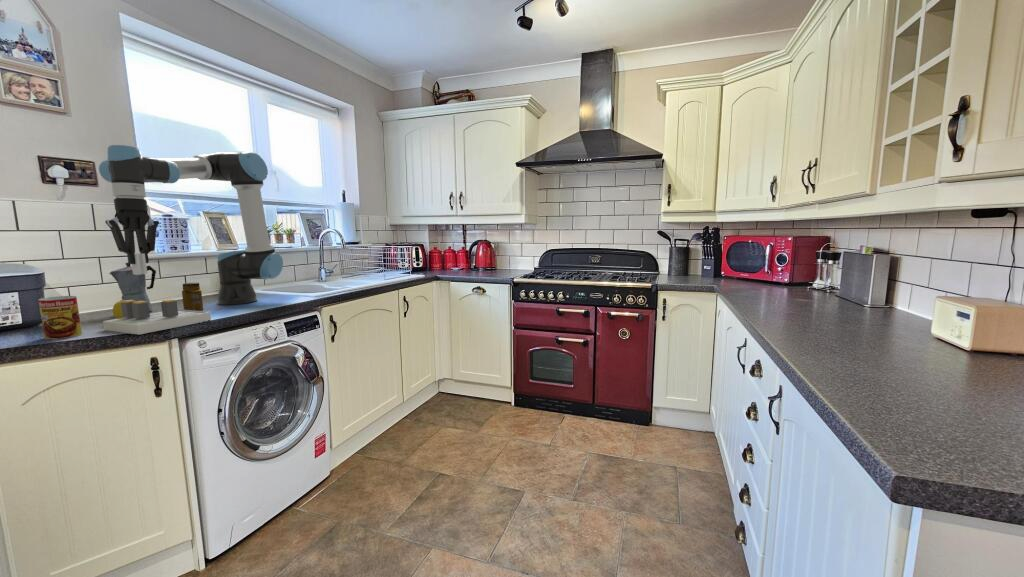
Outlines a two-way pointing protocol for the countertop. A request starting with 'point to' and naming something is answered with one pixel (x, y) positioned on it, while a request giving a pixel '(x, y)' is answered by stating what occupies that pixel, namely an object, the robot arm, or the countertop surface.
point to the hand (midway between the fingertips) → (140, 274)
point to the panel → (156, 322)
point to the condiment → (192, 297)
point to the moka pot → (133, 284)
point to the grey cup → (140, 309)
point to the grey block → (169, 308)
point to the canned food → (60, 317)
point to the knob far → (127, 308)
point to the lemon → (118, 310)
